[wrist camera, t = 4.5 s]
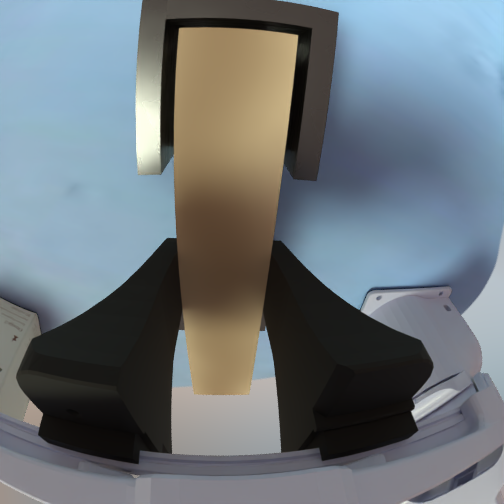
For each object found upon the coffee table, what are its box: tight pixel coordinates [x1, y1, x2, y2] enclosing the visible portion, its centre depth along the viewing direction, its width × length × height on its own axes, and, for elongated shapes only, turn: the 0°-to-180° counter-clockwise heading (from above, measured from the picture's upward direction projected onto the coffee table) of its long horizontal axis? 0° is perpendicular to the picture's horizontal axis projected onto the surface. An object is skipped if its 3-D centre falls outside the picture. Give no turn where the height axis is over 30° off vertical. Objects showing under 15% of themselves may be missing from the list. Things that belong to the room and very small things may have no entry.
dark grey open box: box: [136, 0, 339, 181], centre depth 10 cm, size 6×6×6 cm
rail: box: [174, 27, 298, 395], centre depth 12 cm, size 3×16×4 cm, turn 175°
